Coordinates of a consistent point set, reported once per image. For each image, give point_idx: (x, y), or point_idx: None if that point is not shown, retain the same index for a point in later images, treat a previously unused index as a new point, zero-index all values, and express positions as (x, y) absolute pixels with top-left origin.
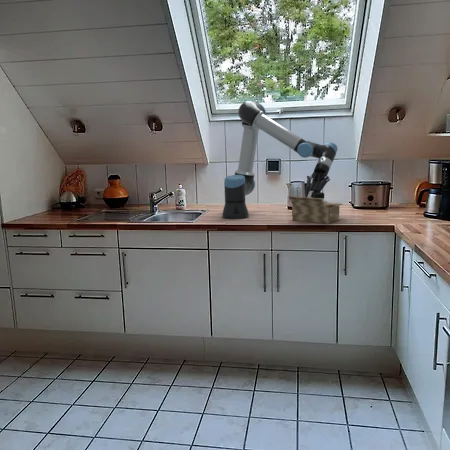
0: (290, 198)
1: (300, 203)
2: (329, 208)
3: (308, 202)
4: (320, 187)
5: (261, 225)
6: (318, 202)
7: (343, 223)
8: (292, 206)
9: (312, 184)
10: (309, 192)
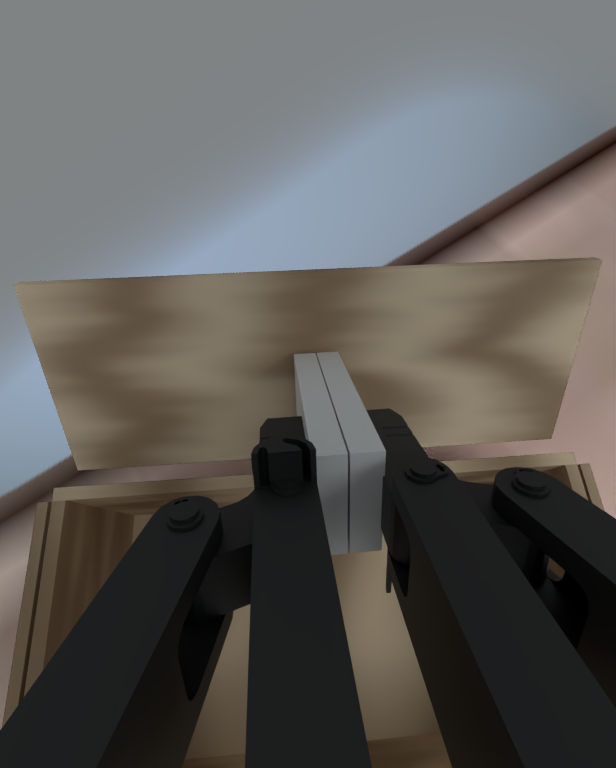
0: (563, 293)
1: (426, 389)
2: (50, 521)
3: (293, 367)
4: (102, 607)
5: (504, 210)
6: (125, 360)
7: (6, 632)
8: (565, 455)
9: (494, 657)
10: (365, 425)
